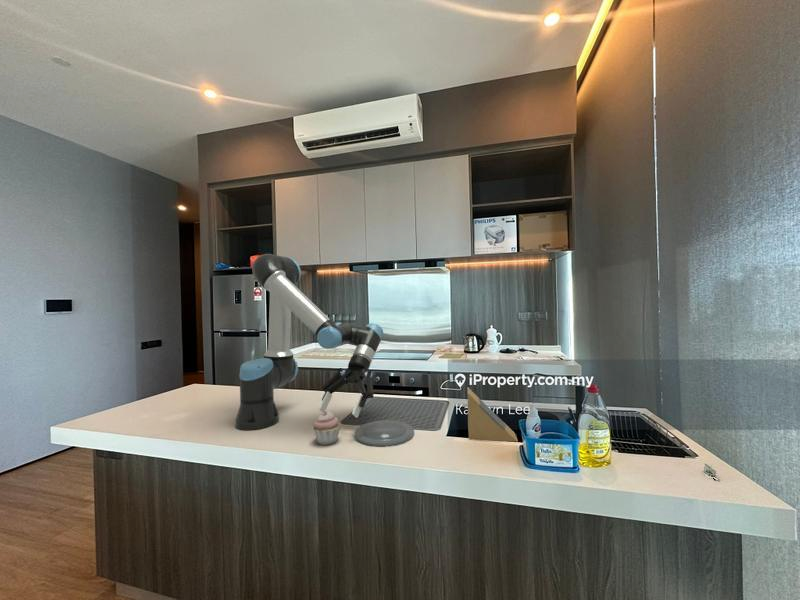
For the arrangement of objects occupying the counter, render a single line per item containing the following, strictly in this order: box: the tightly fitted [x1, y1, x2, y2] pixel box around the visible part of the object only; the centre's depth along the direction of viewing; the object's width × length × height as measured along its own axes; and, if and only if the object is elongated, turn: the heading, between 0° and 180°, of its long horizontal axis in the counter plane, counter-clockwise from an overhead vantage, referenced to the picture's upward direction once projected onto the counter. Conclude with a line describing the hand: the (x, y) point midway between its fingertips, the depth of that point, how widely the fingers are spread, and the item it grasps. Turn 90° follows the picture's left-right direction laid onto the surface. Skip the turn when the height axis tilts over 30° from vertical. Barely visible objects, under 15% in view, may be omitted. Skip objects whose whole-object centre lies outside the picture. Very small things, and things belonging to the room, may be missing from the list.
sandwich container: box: [466, 387, 519, 442], centre depth 111 cm, size 9×15×15 cm, turn 80°
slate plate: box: [353, 419, 415, 448], centre depth 114 cm, size 20×20×1 cm
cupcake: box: [312, 410, 342, 446], centre depth 109 cm, size 9×9×10 cm
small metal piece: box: [701, 463, 719, 480], centre depth 83 cm, size 6×2×3 cm, turn 163°
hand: (337, 413), depth 112 cm, fingers open, 13 cm apart
